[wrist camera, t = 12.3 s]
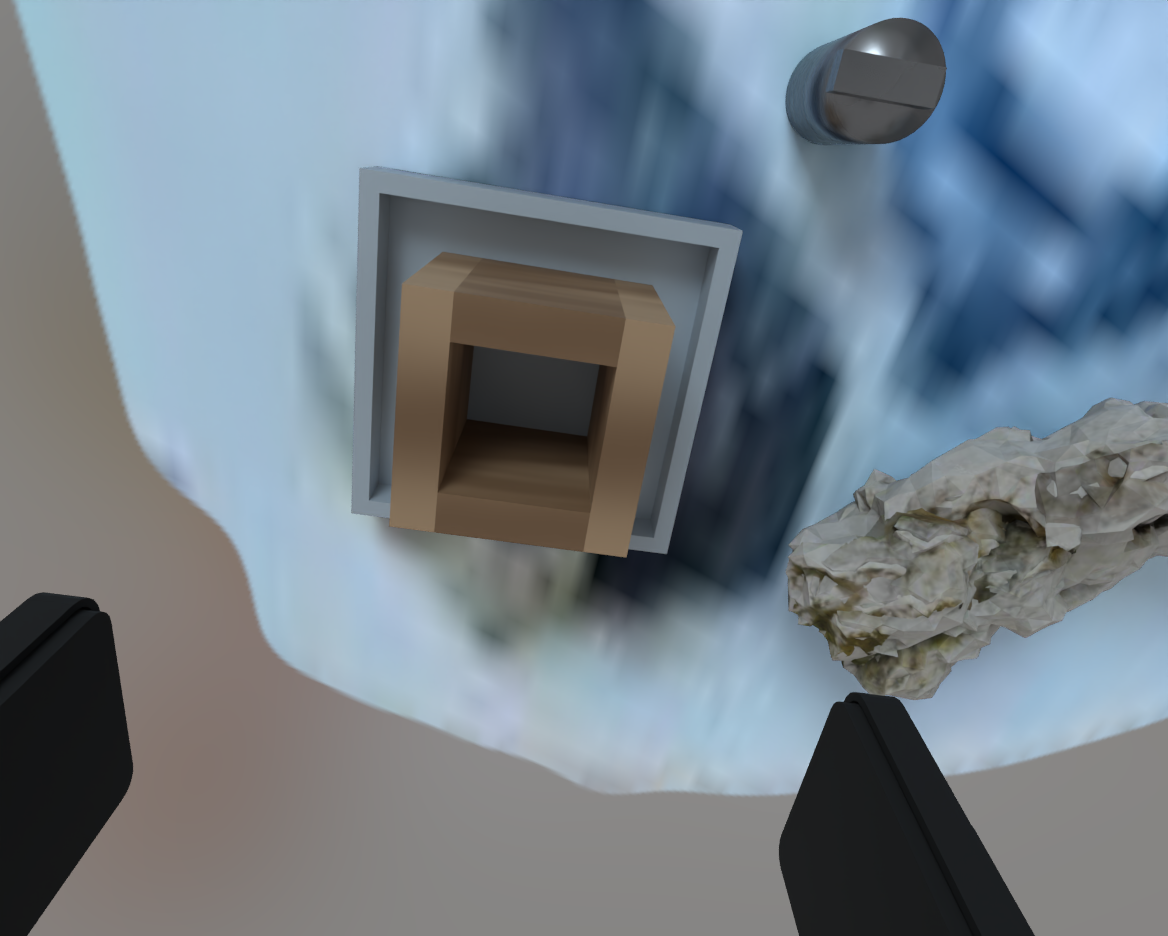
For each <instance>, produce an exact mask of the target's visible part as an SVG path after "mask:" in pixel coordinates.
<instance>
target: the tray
mask: <svg viewBox="0 0 1168 936" xmlns="http://www.w3.org/2000/svg"><path fill="white" fill-rule="evenodd" d="M742 232H743V231H742V230H740V229H738V228H736V227H734V226H732V225H730V224H724V223H718V222H712V221H706V220H699V219H693V218H687V217H681V216H675V215H669V214H663V213H657V212H651V211H645V210H639V209H633V208H627V207H621V206H615V205H609V204H603V203H596V202H590V201H584V200H578V199H572V198H566V197H560V196H554V195H548V194H542V193H536V192H530V191H524V190H518V189H512V188H506V187H499V186H493V185H487V184H481V183H475V182H469V181H463V180H457V179H451V178H445V177H439V176H433V175H427V174H421V173H415V172H409V171H402V170H396V169H390V168H384V167H378V166H375V167H364V168H360V172H359V215H358V257H357V299H356V341H355V383H354V425H353V467H352V509H351V513H354V514H362V515H369V516H377V517H385V518H390V502H391V483H392V464H393V445H394V425H395V406H396V387H397V368H398V349H399V330H400V310H401V291H402V283H403V282H405V281H406V280H407V279H408V278H410V277H411V276H412V275H414V274H415V273H416V272H417V271H419V270H420V269H421V268H422V267H424V266H425V265H426V264H428V263H429V262H430V261H431V260H433V259H434V258H435V257H437V256H438V255H439V254H440V253H442V252H448V253H455V254H461V255H467V256H473V257H480V258H486V259H492V260H498V261H505V262H511V263H517V264H523V265H529V266H536V267H542V268H548V269H554V270H561V271H567V272H573V273H579V274H586V275H592V276H598V277H604V278H611V279H617V280H623V281H629V282H636V283H642V284H648V285H653V287H654V289H655V290H656V292H657V294H658V296H659V298H660V299H661V301H662V303H663V305H664V307H665V308H666V310H667V312H668V314H669V316H670V317H671V319H672V321H673V323H674V324H675V326H676V327H675V331H674V336H673V341H672V345H671V350H670V355H669V360H668V364H667V369H666V374H665V378H664V383H663V388H662V393H661V397H660V402H659V407H658V411H657V416H656V421H655V426H654V430H653V435H652V440H651V444H650V449H649V454H648V458H647V463H646V468H645V473H644V477H643V482H642V487H641V491H640V496H639V501H638V506H637V510H636V515H635V520H634V524H633V529H632V534H631V539H630V543H629V548H628V549H632V550H640V551H647V552H655V553H663V554H667V551H668V547H669V542H670V538H671V534H672V530H673V525H674V521H675V517H676V513H677V508H678V504H679V500H680V496H681V491H682V487H683V483H684V479H685V474H686V470H687V466H688V462H689V457H690V453H691V449H692V445H693V440H694V436H695V432H696V428H697V423H698V419H699V415H700V411H701V406H702V402H703V398H704V394H705V389H706V385H707V381H708V377H709V372H710V368H711V364H712V360H713V355H714V351H715V347H716V343H717V338H718V334H719V330H720V326H721V322H722V317H723V313H724V309H725V305H726V300H727V296H728V292H729V288H730V283H731V279H732V275H733V271H734V266H735V262H736V258H737V254H738V249H739V245H740V241H741V237H742ZM598 371H599V364H592V363H586V362H579V361H572V360H566V359H559V358H552V357H546V356H539V355H533V354H526V353H519V352H513V351H506V350H499V349H493V348H486V347H480V346H474V351H473V362H472V372H471V382H470V393H469V403H468V414H467V419H470V420H477V421H484V422H491V423H498V424H505V425H512V426H519V427H526V428H533V429H540V430H547V431H553V432H560V433H567V434H574V435H581V436H587V435H588V429H589V423H590V418H591V412H592V406H593V400H594V394H595V389H596V383H597V377H598Z"/></svg>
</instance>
